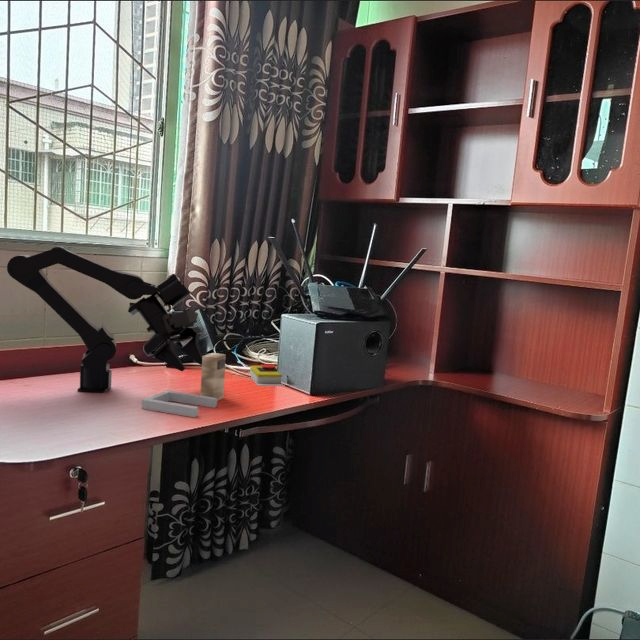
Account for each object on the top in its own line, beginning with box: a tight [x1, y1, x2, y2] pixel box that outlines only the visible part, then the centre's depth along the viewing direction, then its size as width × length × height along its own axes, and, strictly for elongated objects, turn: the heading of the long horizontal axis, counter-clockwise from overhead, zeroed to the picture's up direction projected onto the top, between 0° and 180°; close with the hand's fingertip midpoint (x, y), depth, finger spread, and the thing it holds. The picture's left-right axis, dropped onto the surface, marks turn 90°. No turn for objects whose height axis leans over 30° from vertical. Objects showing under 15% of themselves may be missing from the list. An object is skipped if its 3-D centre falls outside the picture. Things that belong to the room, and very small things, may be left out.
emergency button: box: [249, 363, 286, 387], centre depth 176 cm, size 9×4×15 cm
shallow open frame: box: [141, 390, 218, 418], centre depth 142 cm, size 14×10×2 cm
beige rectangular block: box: [200, 352, 227, 402], centre depth 151 cm, size 4×6×11 cm
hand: (193, 367), depth 152 cm, fingers open, 9 cm apart
